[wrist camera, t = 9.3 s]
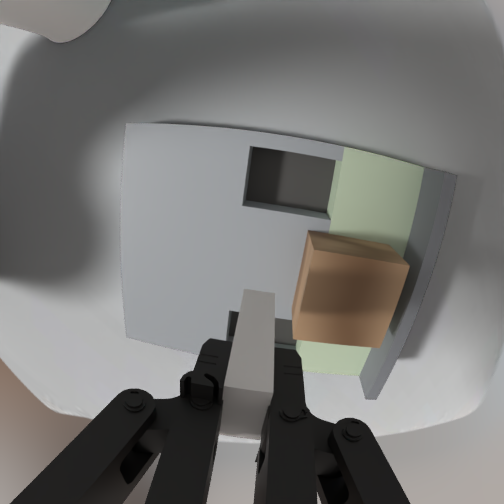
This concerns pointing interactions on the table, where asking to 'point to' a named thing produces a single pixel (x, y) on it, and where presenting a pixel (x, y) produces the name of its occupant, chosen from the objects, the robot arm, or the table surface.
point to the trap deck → (264, 233)
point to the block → (346, 290)
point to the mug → (53, 16)
